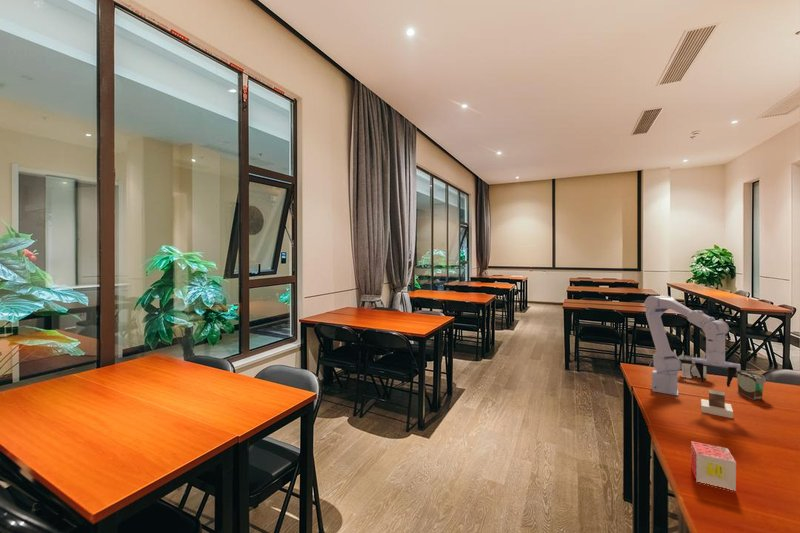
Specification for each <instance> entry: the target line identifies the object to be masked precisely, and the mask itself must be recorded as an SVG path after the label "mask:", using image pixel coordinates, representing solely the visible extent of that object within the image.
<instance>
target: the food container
mask: <svg viewBox="0 0 800 533" xmlns="http://www.w3.org/2000/svg"><path fill="white" fill-rule="evenodd" d="M735 375H736V380H737V381H736V382H737V393H739V394H740V395H743V396H745V397H747V398H749V399H751V400H753V401H762V400H763V395H764V394H763V393H764V385H765V383H767V380H766V377H765V376H764V375H763V374H761V373H758V372H755V371H749V370H748V371H747V370H737V373H736V374H735Z"/></svg>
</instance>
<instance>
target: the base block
mask: <svg viewBox="0 0 800 533" xmlns="http://www.w3.org/2000/svg"><path fill="white" fill-rule="evenodd" d="M700 405H701V406H700V407H701V408H700V409H701V413H703V414H709V415H714V416H715V415H716V416H719V417H725V418H730V419H734V410H733V406H732V404H731V403H726V402H725V408H720V407H715V406H710V405H709V399H703V398H702V399H700Z"/></svg>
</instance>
